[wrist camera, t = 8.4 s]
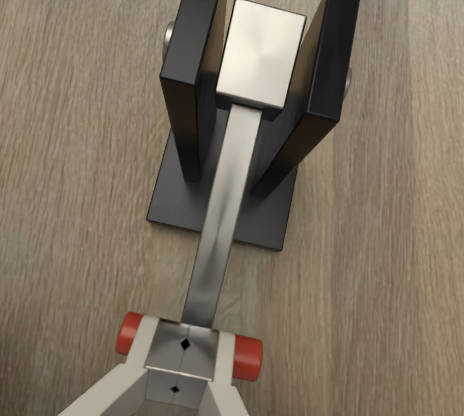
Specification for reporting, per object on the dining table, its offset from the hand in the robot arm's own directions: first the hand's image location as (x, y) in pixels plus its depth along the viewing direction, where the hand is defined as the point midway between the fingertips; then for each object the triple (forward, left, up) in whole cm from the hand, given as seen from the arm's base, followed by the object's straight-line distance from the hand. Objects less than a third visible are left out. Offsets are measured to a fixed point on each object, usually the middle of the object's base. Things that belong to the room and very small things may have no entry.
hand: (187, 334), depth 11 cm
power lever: (+5, 0, -1) cm, 5 cm away
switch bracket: (+9, 0, -9) cm, 12 cm away
